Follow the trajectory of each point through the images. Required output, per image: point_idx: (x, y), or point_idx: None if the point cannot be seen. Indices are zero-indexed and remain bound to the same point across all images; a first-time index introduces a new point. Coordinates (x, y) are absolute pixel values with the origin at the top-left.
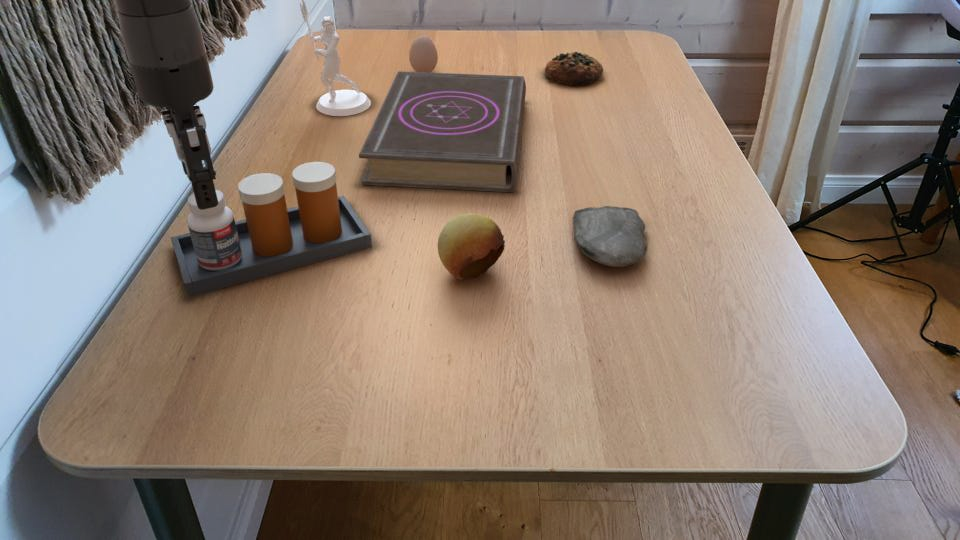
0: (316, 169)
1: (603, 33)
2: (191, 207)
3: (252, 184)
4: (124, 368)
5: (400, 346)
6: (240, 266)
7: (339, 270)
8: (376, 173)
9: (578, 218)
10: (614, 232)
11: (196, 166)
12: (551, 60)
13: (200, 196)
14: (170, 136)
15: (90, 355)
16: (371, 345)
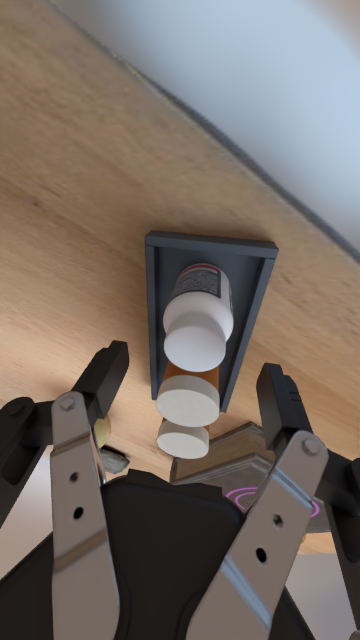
0: (185, 449)
1: (316, 552)
2: (182, 323)
3: (190, 404)
4: (25, 100)
5: (32, 351)
6: (152, 304)
7: (134, 360)
8: (244, 438)
9: (118, 460)
10: None
11: (261, 390)
12: (303, 539)
13: (87, 367)
14: (272, 474)
15: (61, 32)
16: (36, 339)
